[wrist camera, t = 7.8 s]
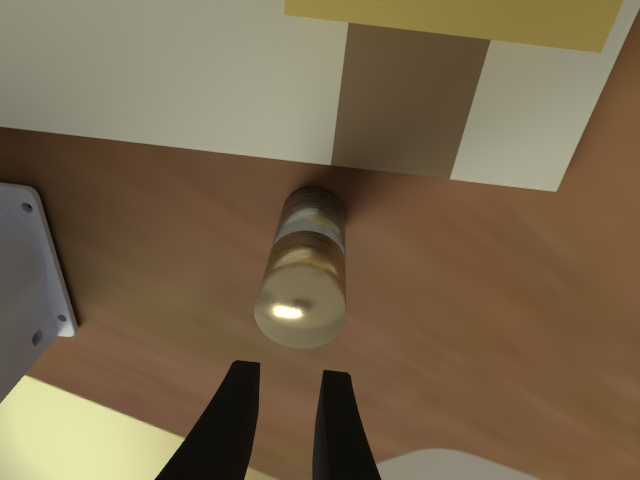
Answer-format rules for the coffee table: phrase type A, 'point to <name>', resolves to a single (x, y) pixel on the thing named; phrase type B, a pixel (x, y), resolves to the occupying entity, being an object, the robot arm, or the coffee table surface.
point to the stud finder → (479, 18)
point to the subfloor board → (300, 87)
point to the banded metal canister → (305, 272)
